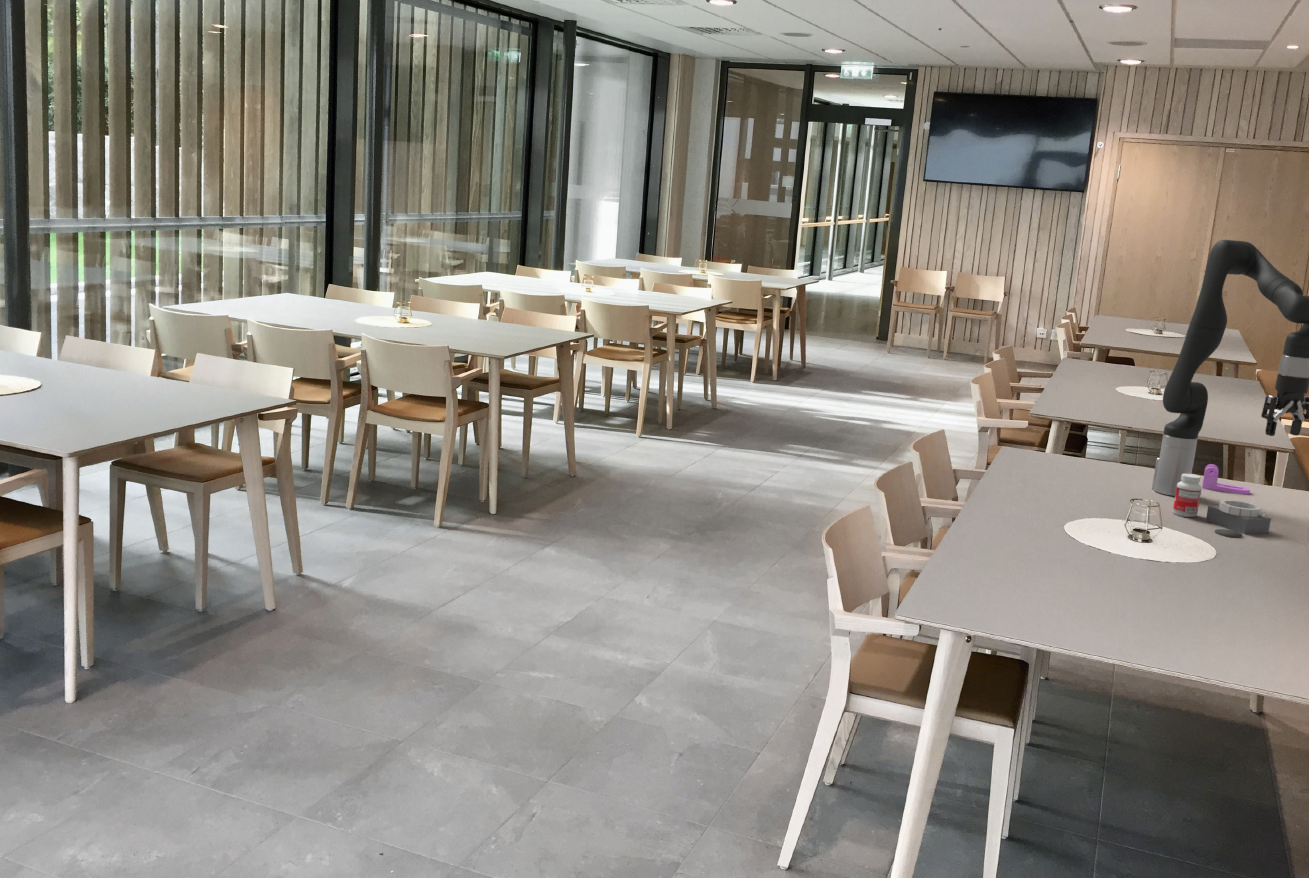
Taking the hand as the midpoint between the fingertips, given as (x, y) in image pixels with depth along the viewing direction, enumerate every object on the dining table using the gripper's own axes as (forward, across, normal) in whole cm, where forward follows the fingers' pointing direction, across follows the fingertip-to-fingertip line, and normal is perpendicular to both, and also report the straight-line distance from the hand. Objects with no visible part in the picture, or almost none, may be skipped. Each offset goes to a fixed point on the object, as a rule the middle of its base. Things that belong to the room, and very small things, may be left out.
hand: (1282, 435), depth 293 cm
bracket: (+27, -28, -39) cm, 55 cm away
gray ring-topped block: (+26, +6, -3) cm, 27 cm away
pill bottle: (+26, +12, -15) cm, 32 cm away
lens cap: (+26, +15, +3) cm, 30 cm away
